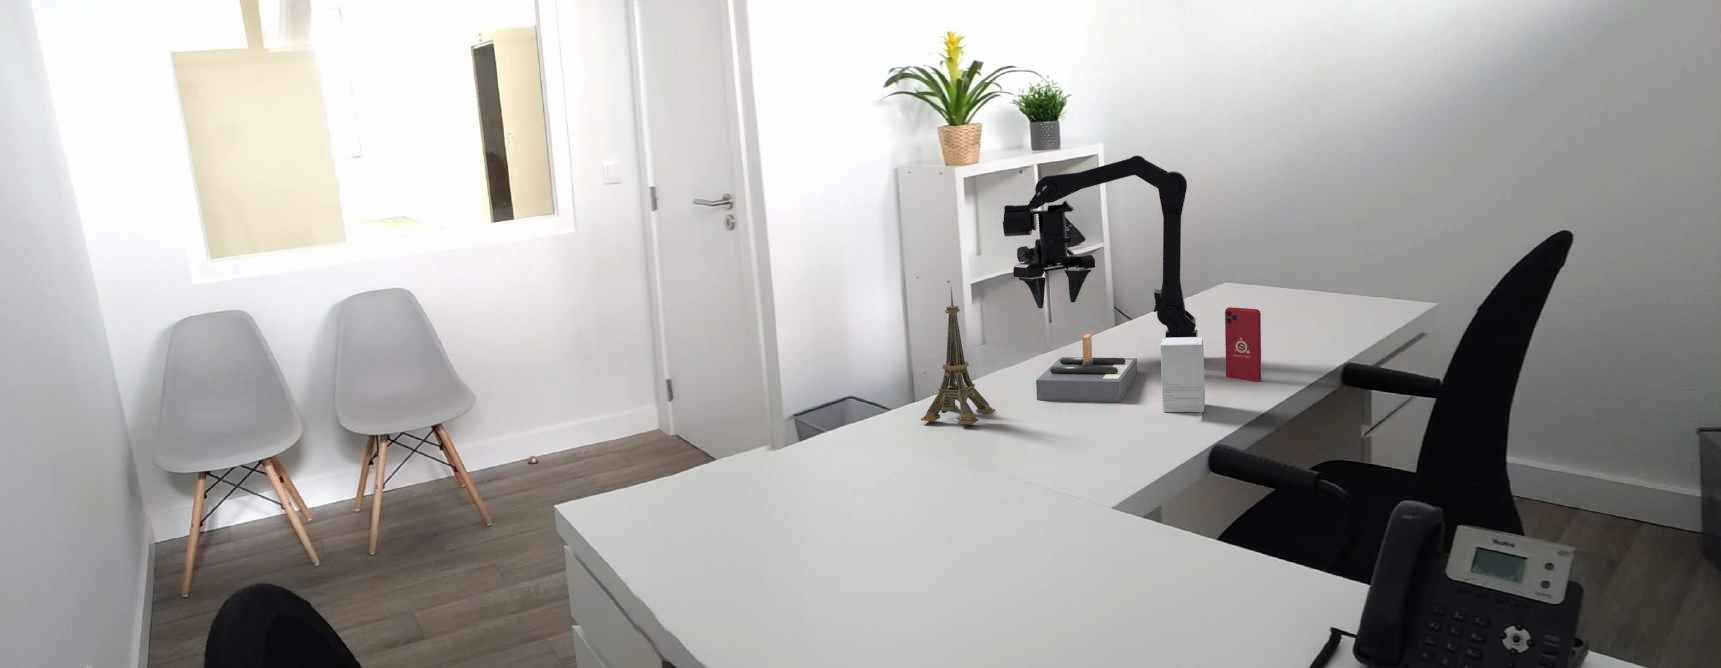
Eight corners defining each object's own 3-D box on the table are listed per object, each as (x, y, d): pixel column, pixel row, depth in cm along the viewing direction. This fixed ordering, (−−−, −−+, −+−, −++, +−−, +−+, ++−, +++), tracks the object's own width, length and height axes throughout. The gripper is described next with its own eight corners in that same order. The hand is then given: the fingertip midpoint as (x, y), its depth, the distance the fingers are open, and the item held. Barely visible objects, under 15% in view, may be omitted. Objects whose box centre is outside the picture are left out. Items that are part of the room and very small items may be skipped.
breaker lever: (1094, 365, 219) (1093, 333, 218) (1089, 369, 215) (1088, 337, 214) (1086, 365, 220) (1085, 333, 219) (1081, 369, 216) (1080, 337, 215)
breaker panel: (1137, 377, 225) (1136, 351, 224) (1119, 402, 205) (1118, 374, 204) (1061, 375, 231) (1060, 351, 230) (1036, 400, 211) (1035, 373, 210)
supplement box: (1205, 403, 200) (1204, 336, 198) (1204, 413, 193) (1203, 343, 191) (1164, 402, 202) (1162, 336, 200) (1161, 412, 195) (1159, 344, 193)
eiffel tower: (945, 407, 211) (938, 280, 207) (995, 410, 206) (988, 280, 202) (920, 420, 202) (912, 288, 198) (972, 424, 197) (964, 288, 193)
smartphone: (1261, 384, 211) (1260, 309, 208) (1259, 385, 210) (1258, 309, 208) (1227, 380, 216) (1225, 306, 214) (1224, 381, 216) (1223, 307, 213)
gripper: (1060, 228, 244) (1064, 296, 247) (995, 238, 235) (999, 308, 237) (1095, 229, 235) (1098, 300, 237) (1027, 239, 225) (1032, 312, 228)
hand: (1056, 305), depth 235 cm, fingers open, 9 cm apart
